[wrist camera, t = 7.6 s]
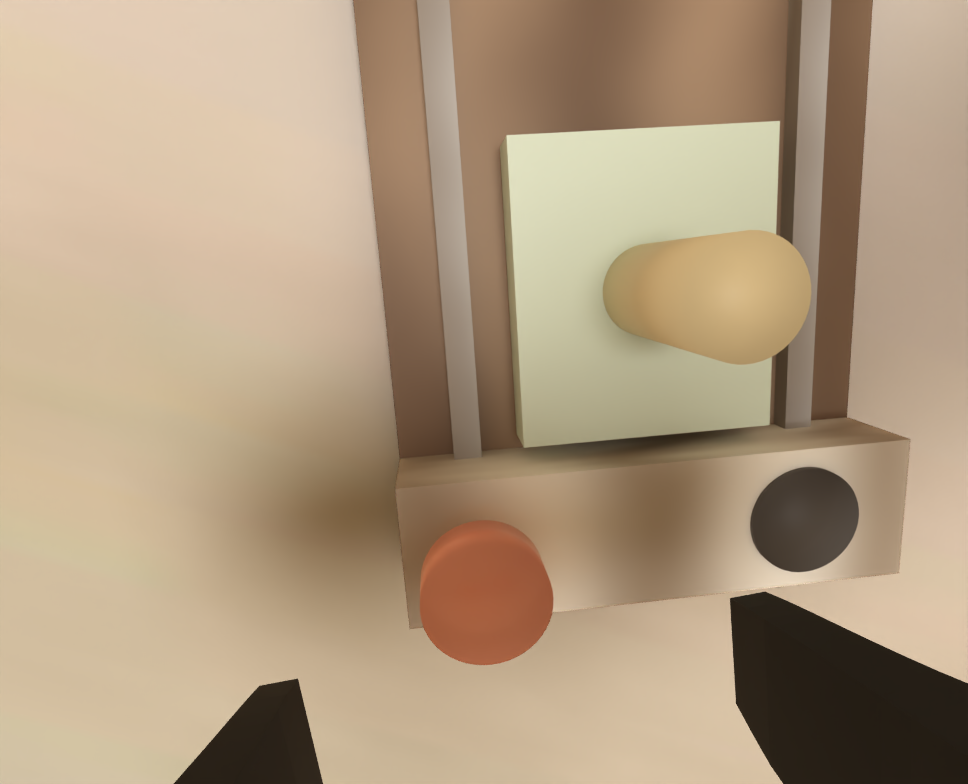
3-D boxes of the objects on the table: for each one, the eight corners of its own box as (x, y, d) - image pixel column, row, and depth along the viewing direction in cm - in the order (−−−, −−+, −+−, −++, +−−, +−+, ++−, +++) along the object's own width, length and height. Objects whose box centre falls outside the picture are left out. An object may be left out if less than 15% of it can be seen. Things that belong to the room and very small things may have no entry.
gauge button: (540, 514, 14) (550, 535, 13) (546, 625, 15) (556, 656, 13) (415, 526, 14) (413, 550, 13) (426, 639, 14) (426, 672, 13)
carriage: (750, 133, 16) (951, 46, 10) (743, 413, 18) (911, 489, 12) (500, 147, 16) (545, 64, 9) (516, 434, 17) (565, 525, 11)
